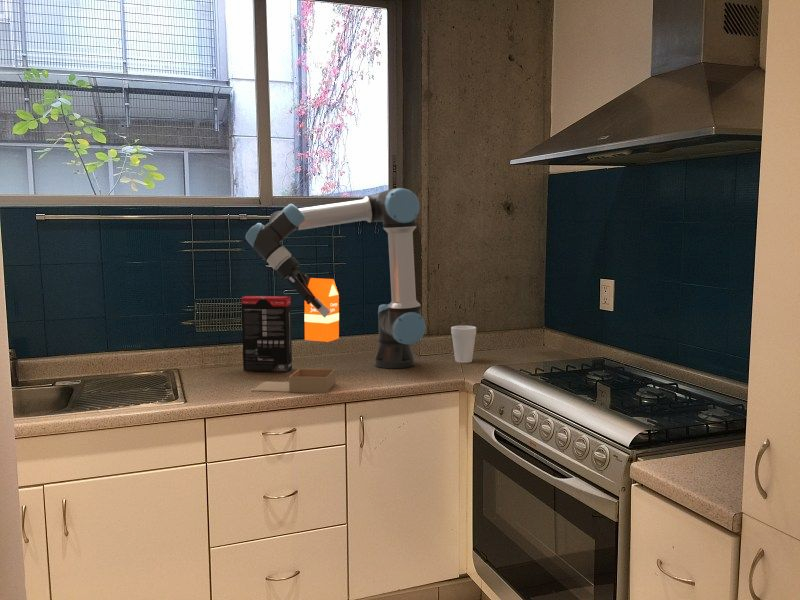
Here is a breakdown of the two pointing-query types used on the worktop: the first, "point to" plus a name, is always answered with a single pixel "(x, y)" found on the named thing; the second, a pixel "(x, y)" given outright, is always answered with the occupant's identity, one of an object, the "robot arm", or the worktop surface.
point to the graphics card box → (266, 333)
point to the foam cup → (463, 342)
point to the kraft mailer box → (303, 382)
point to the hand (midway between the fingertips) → (331, 312)
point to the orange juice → (314, 321)
